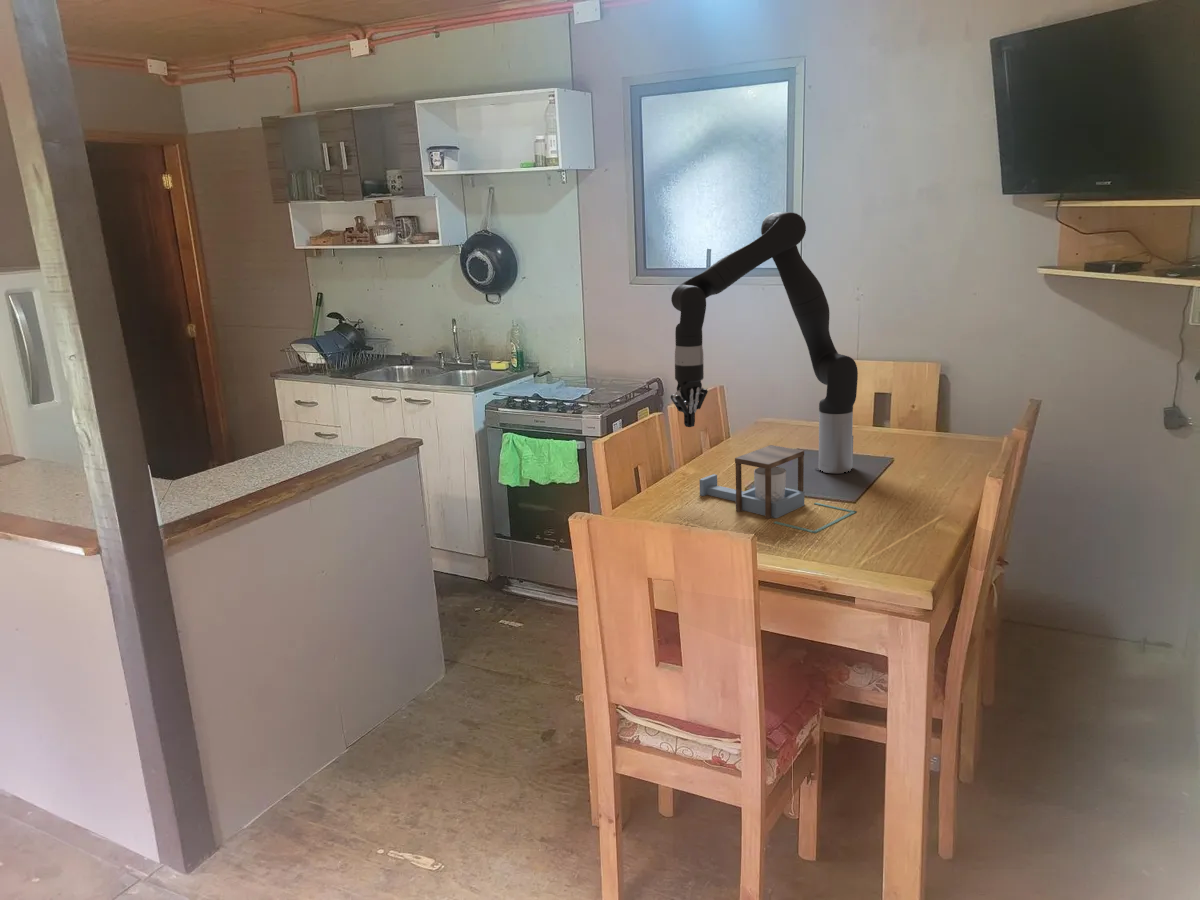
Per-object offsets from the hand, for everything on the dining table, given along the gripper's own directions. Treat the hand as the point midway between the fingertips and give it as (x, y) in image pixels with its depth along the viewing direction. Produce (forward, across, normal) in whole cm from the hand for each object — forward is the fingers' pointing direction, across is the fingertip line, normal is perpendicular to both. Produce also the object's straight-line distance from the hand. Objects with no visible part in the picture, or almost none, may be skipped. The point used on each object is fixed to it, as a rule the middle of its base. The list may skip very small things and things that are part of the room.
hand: (689, 426), depth 232 cm
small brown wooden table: (+18, 0, -26) cm, 31 cm away
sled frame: (+17, 0, -19) cm, 26 cm away
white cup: (+18, 0, -26) cm, 32 cm away
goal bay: (+18, 0, -39) cm, 43 cm away
